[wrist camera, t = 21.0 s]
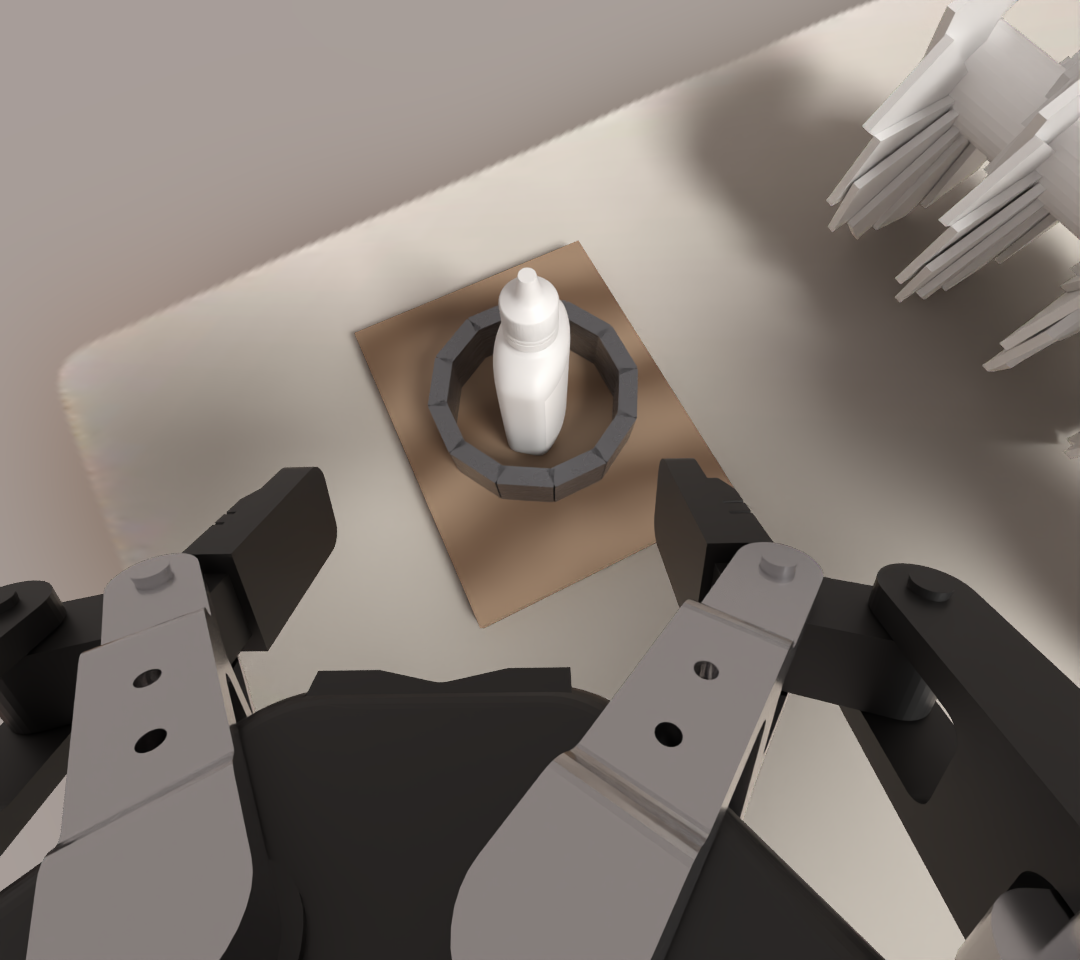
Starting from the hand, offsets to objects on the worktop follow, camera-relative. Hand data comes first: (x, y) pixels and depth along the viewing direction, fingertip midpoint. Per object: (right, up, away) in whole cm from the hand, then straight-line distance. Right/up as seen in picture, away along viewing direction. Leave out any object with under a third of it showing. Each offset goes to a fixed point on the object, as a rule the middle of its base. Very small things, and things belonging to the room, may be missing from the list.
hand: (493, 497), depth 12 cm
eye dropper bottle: (+1, +4, +18) cm, 19 cm away
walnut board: (+1, +4, +19) cm, 20 cm away
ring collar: (+1, +5, +18) cm, 19 cm away
